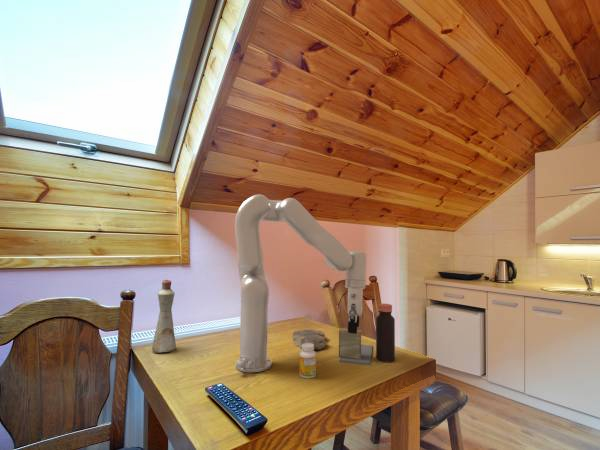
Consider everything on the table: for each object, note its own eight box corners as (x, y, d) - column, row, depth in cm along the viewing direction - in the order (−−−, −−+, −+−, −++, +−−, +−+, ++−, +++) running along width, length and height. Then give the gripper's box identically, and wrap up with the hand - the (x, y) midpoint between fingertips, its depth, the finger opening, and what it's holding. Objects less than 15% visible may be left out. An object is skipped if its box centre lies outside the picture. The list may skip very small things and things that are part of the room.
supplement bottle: (299, 371, 105) (299, 342, 105) (315, 371, 105) (315, 342, 105) (299, 378, 99) (299, 347, 100) (316, 378, 99) (316, 347, 100)
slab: (360, 359, 114) (360, 331, 115) (338, 357, 116) (338, 330, 117) (361, 355, 118) (361, 328, 119) (340, 353, 120) (340, 327, 121)
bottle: (151, 355, 117) (153, 281, 119) (152, 348, 126) (154, 278, 127) (176, 352, 121) (178, 280, 122) (175, 345, 129) (177, 277, 131)
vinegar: (378, 354, 121) (378, 302, 122) (396, 357, 118) (396, 304, 119) (374, 360, 115) (374, 305, 116) (393, 363, 112) (393, 307, 113)
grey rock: (330, 352, 123) (322, 336, 143) (329, 340, 124) (322, 325, 143) (294, 354, 122) (292, 337, 142) (294, 341, 123) (292, 326, 142)
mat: (370, 365, 110) (370, 363, 110) (339, 361, 113) (339, 360, 113) (372, 346, 130) (372, 345, 130) (345, 344, 133) (345, 342, 133)
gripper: (364, 287, 109) (362, 337, 108) (366, 282, 125) (365, 325, 124) (342, 285, 111) (340, 334, 110) (347, 280, 127) (346, 323, 126)
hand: (353, 329), depth 117 cm, fingers open, 9 cm apart
